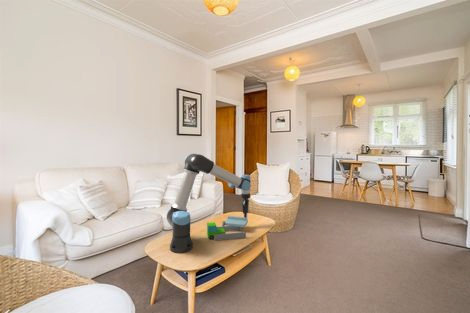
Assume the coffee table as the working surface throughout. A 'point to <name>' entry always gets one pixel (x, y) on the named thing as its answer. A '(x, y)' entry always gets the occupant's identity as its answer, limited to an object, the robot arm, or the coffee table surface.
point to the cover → (235, 221)
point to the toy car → (213, 230)
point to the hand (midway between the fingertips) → (245, 220)
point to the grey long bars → (230, 235)
